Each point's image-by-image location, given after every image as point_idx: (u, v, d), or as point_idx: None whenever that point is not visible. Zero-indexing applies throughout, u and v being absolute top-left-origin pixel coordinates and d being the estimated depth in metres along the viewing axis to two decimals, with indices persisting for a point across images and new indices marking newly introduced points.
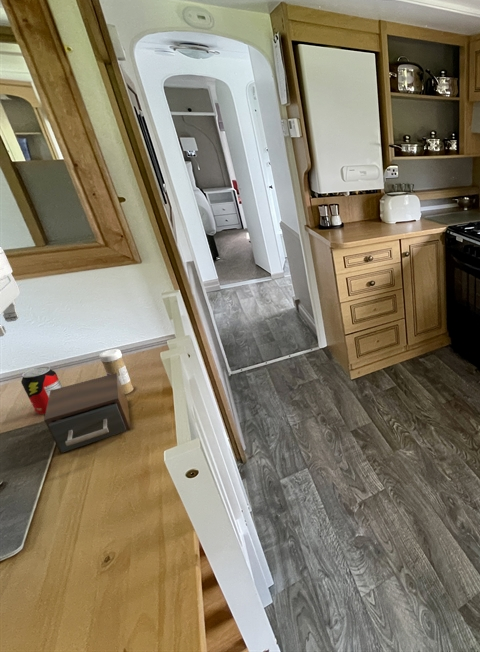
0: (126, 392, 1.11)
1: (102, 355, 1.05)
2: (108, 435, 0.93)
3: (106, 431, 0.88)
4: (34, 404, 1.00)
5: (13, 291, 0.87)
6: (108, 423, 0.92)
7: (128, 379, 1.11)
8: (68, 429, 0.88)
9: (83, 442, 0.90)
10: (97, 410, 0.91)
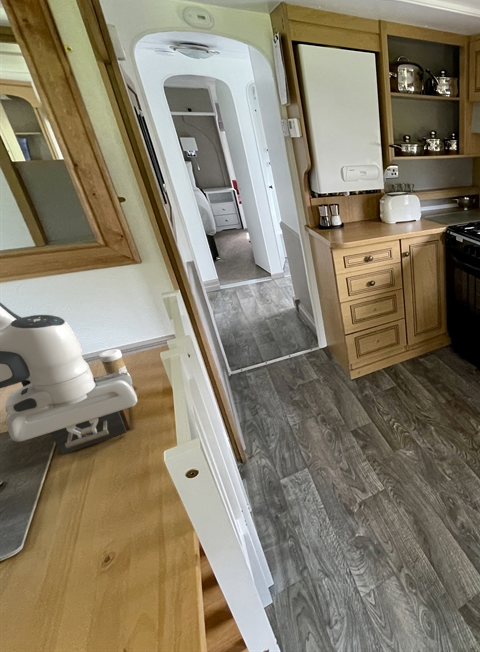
0: None
1: (102, 355, 1.05)
2: (108, 437, 0.93)
3: (106, 433, 0.88)
4: None
5: (112, 406, 0.87)
6: (108, 425, 0.92)
7: None
8: None
9: (83, 444, 0.90)
10: None
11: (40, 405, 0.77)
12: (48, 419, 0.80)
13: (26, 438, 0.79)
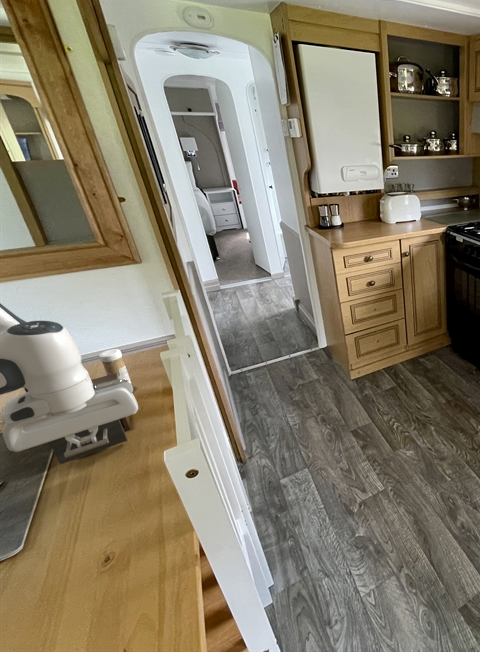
0: None
1: (102, 355, 1.05)
2: (108, 445, 0.90)
3: (106, 442, 0.85)
4: None
5: (112, 414, 0.84)
6: (109, 433, 0.89)
7: (128, 379, 1.11)
8: None
9: (82, 453, 0.87)
10: None
11: (38, 414, 0.75)
12: (46, 429, 0.78)
13: (23, 448, 0.76)
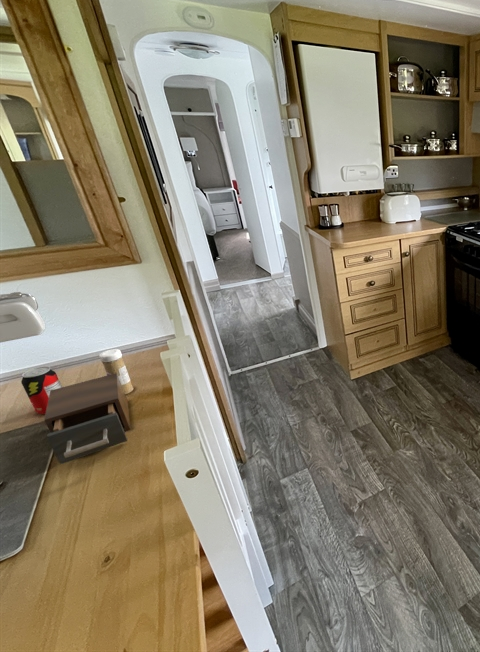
0: (126, 392, 1.11)
1: (102, 355, 1.05)
2: (108, 445, 0.90)
3: (106, 442, 0.85)
4: (34, 404, 1.00)
5: (10, 332, 0.74)
6: (109, 433, 0.89)
7: (128, 379, 1.11)
8: (67, 440, 0.85)
9: (82, 453, 0.87)
10: (97, 420, 0.87)
11: None
12: None
13: None
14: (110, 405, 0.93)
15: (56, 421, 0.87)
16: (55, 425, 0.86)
